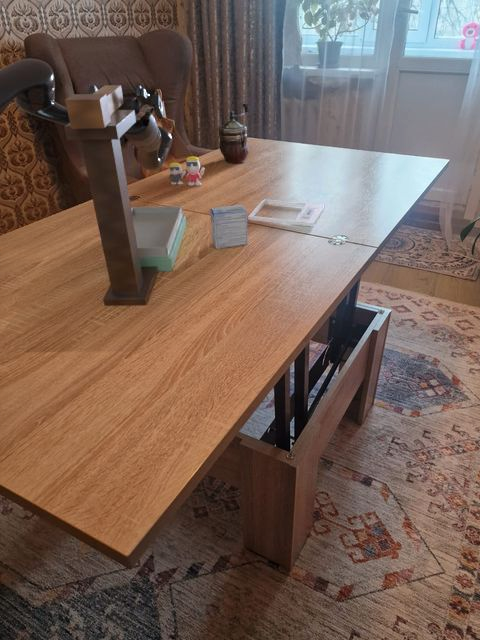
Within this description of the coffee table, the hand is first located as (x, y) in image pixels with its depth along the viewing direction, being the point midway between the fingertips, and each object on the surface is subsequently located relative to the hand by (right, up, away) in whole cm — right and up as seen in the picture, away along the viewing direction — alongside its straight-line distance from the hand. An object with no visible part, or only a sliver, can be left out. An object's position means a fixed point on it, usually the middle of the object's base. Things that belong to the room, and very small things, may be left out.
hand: (115, 90), depth 88 cm
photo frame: (+34, -10, +45) cm, 57 cm away
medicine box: (+19, -22, +29) cm, 41 cm away
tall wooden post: (0, -35, +11) cm, 36 cm away
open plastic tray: (0, -22, +28) cm, 36 cm away
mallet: (0, -7, -6) cm, 9 cm away
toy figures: (+2, +7, +69) cm, 69 cm away
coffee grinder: (+17, +24, +93) cm, 98 cm away
